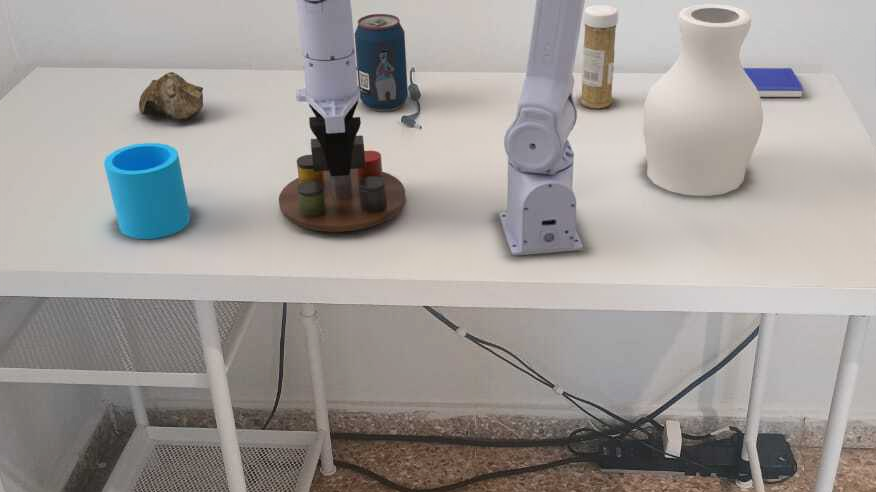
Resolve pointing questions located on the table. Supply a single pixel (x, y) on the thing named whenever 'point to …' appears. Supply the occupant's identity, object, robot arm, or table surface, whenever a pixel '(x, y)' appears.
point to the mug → (147, 190)
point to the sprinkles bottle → (598, 55)
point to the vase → (704, 107)
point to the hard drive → (775, 82)
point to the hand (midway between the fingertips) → (339, 166)
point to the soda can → (381, 62)
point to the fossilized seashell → (171, 98)
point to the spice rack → (341, 192)
